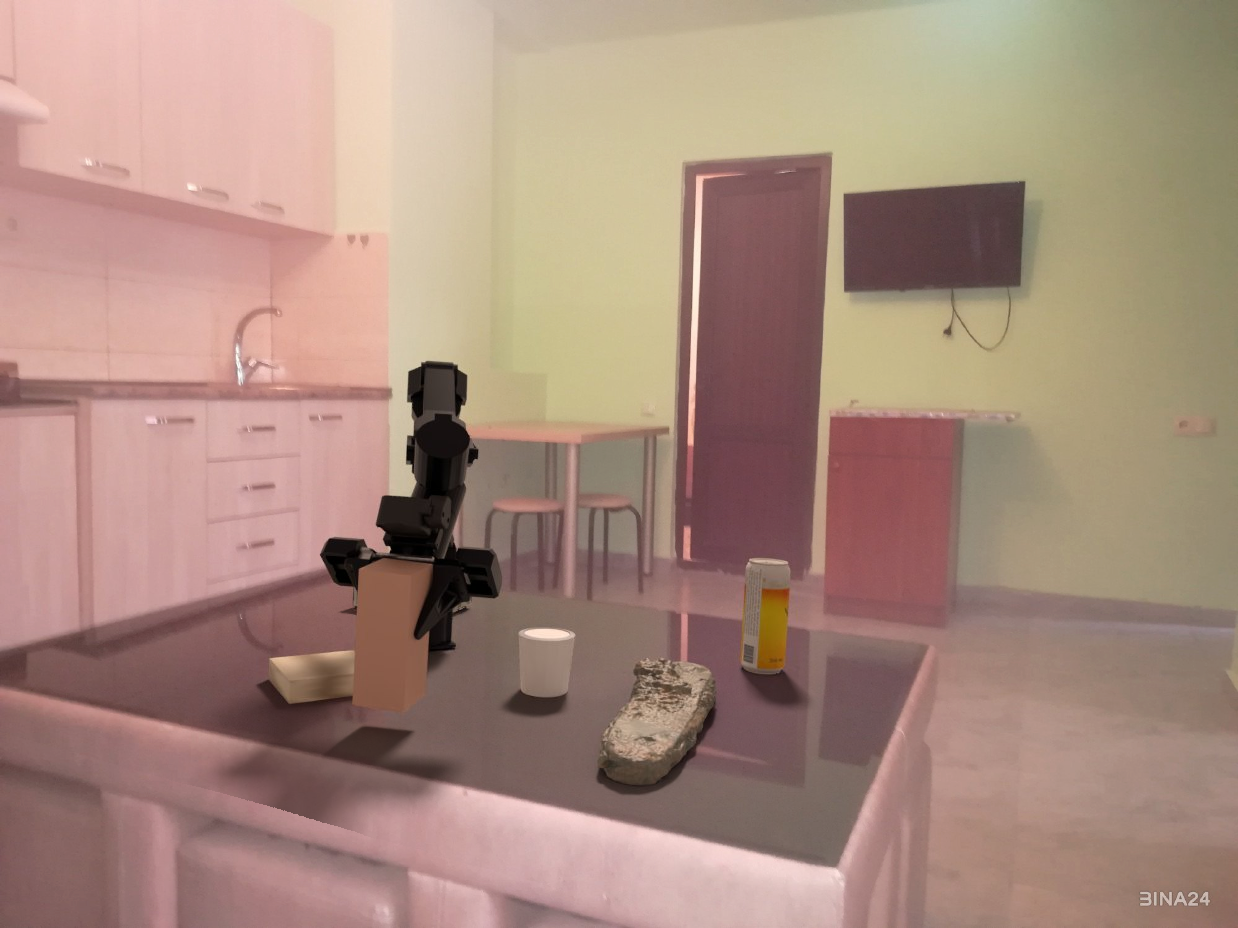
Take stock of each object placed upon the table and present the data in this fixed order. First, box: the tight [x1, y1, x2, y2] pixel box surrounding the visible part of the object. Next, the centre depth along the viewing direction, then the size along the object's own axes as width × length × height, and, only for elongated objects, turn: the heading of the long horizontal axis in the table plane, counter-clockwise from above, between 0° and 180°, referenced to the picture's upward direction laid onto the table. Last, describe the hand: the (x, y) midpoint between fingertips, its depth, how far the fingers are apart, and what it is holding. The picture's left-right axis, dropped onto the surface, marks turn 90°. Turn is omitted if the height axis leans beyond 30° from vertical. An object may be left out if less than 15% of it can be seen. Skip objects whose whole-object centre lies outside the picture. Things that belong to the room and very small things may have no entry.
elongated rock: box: [597, 657, 717, 787], centre depth 97 cm, size 35×5×10 cm
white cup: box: [518, 626, 576, 698], centre depth 107 cm, size 7×7×7 cm
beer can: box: [739, 557, 792, 675], centre depth 121 cm, size 6×6×15 cm
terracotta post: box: [351, 558, 433, 714], centre depth 91 cm, size 6×6×14 cm
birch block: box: [268, 649, 355, 705], centre depth 104 cm, size 10×10×3 cm
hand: (388, 634), depth 89 cm, fingers closed on terracotta post, 6 cm apart
